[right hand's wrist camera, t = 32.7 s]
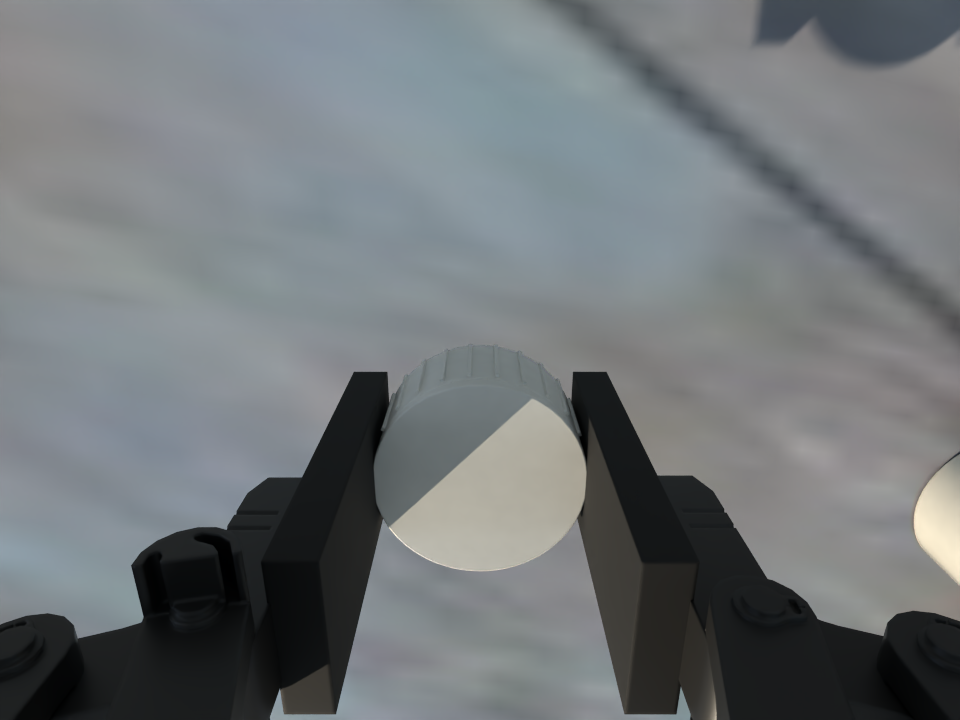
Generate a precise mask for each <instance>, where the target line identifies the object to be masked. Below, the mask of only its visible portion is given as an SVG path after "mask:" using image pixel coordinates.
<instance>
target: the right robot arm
mask: <svg viewBox="0 0 960 720" xmlns="http://www.w3.org/2000/svg"><path fill="white" fill-rule="evenodd" d="M571 403H572V406H573V409H574V412H575V415H576V419H577V422H578V425H579V428H580V431H581V434H582V436H580V441H581V444H582V447H583V451H584V454H585V458H586V462H587V473H586V487H585V500H584V504H583V507H582V510H581V512H580V514H579V516H578V517H577V519H578V523H579V527H580V531H581V535H582V539H583V544H584V548H585V552H586V556H587V560H588V564H589V569H590V573H591V577H592V581H593V585H594V589H595V593H596V598H597V602H598V606H599V610H600V614H601V618H602V622H603V627H604V631H605V635H606V639H607V643H608V647H609V652H610V656H611V660H612V664H613V668H614V672H615V676H616V681H617V685H618V689H619V693H620V697H621V701H622V706H623V710H624V714H676V713H677V707H678V700H679V694H680V687H681V688H682V690H683V693H684V696H685V699H686V702H687V705H688V708H689V710H690V713H691V717H690V720H960V621H957V620H954V619H951V618H948V617H945V616H942V615H939V614H936V613H928V612H919V611H910V612H905V613H900V614H896V615H895V616H894V617H893V618H892V619H891V620H890V621H889V622H888V623H887V626H886V630H885V633H884V636H880V635H876V634H871V633H867V632H863V631H858V630H854V629H850V628H845V627H841V626H837V625H834V624H830V623H827V622H824V621H821V620H818V619H817V617H816V615H815V614H814V612H813V611H812V609H811V608H810V606H809V604H808V603H807V602H806V601H805V600H804V599H802V598H801V597H800V596H799V595H798V594H796V593H795V592H794V591H793V590H791V589H789V588H787V587H785V586H783V585H781V584H779V583H777V582H775V581H773V580H769V579H767V577H766V576H765V574H764V573H763V571H762V569H761V568H760V566H759V565H758V563H757V561H756V560H755V558H754V556H753V555H752V553H751V552H750V550H749V548H748V547H747V545H746V544H745V542H744V540H743V539H742V537H741V536H740V534H739V532H738V531H737V529H736V528H734V527H733V523H732V521H731V519H730V518H729V516H728V515H727V513H724V508H723V506H722V505H721V503H720V502H719V500H718V498H717V497H716V495H715V494H714V492H713V491H712V490H711V489H709V488H708V487H707V486H705V485H704V484H703V483H701V482H700V481H699V480H697V479H696V478H695V477H693V476H657V474H656V472H655V470H654V468H653V466H652V464H651V462H650V460H649V458H648V456H647V454H646V451H645V449H644V447H643V445H642V443H641V441H640V439H639V437H638V435H637V433H636V431H635V429H634V427H633V425H632V423H631V421H630V419H629V417H628V415H627V413H626V411H625V409H624V407H623V405H622V403H621V401H620V399H619V397H618V395H617V393H616V390H615V388H614V386H613V384H612V382H611V380H610V378H609V376H608V374H607V372H573V383H572V400H571ZM388 406H389V393H388V375H387V372H354V373H353V375H352V377H351V379H350V381H349V383H348V385H347V387H346V389H345V391H344V393H343V395H342V397H341V399H340V402H339V404H338V406H337V408H336V410H335V412H334V414H333V416H332V418H331V420H330V422H329V424H328V426H327V428H326V430H325V432H324V434H323V436H322V438H321V440H320V442H319V444H318V446H317V448H316V450H315V452H314V454H313V456H312V458H311V460H310V463H309V465H308V467H307V469H306V471H305V473H304V475H303V477H302V478H267V479H266V480H265V481H263V482H262V483H261V484H259V485H258V486H257V487H255V488H254V489H253V490H251V491H250V492H249V493H248V494H247V495H246V497H245V498H244V500H243V502H242V503H241V505H240V507H239V508H238V510H237V514H236V515H234V516H233V518H232V520H231V521H230V523H229V524H228V526H227V530H224V529H221V528H217V527H197V528H193V529H189V530H184V531H180V532H176V533H174V534H171V535H169V536H167V537H165V538H162V539H160V540H158V541H156V542H155V543H153V544H152V545H151V546H149V547H148V548H146V549H145V550H144V551H142V552H141V553H140V555H139V556H138V557H137V559H136V560H135V561H134V563H133V564H132V565H131V566H132V571H133V575H134V579H135V583H136V587H137V591H138V595H139V599H140V603H141V607H142V612H143V616H144V618H143V621H142V622H141V623H139V624H135V625H132V626H129V627H126V628H122V629H118V630H113V631H109V632H105V633H100V634H96V635H92V636H87V637H83V638H79V639H78V638H77V635H76V631H75V628H74V625H73V624H72V623H71V622H70V621H69V620H67V619H66V618H65V617H64V616H59V615H53V614H48V613H47V614H39V615H30V616H25V617H22V618H18V619H15V620H12V621H9V622H6V623H3V624H1V625H0V720H270V715H271V712H272V709H273V706H274V703H275V701H276V698H277V695H278V692H279V689H280V691H281V698H282V704H283V711H284V714H336V711H337V707H338V703H339V699H340V695H341V691H342V686H343V682H344V678H345V674H346V670H347V666H348V662H349V657H350V653H351V649H352V645H353V641H354V637H355V632H356V628H357V624H358V620H359V616H360V612H361V608H362V603H363V599H364V595H365V591H366V587H367V583H368V578H369V574H370V570H371V566H372V562H373V558H374V554H375V549H376V545H377V541H378V537H379V533H380V529H381V524H382V520H383V517H382V515H381V513H380V511H379V508H378V506H377V504H376V495H375V480H374V458H375V454H376V451H377V448H378V444H379V441H380V438H381V435H382V432H383V431H381V428H382V425H383V422H384V418H385V415H386V412H387V409H388Z"/></svg>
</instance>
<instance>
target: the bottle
mask: <svg viewBox="0 0 960 720" xmlns="http://www.w3.org/2000/svg"><path fill="white" fill-rule="evenodd" d="M914 530H915V534H916V537H917V540H918V542H919V544H920V546H921V547H922V549H923V550H924V551H925V552H926V553H927V554H928V555H929V556H930V557H931V558H932V559H933V560H934V561H935V562H936V563H937V564H938V565H939V566H940V567H941V568H942V569H943V570H944V571H945V572H946V573H947V574H948V575H949V576H950V577H951V578H952V579H953V580H954V581H955V582H956V583H957V584H958V585H959V586H960V454H959V455H957V456H956V457H954V458H953V459H952V460H950V461H949V462H948V463H946V464H945V465H944V466H943V467H942V468H941V469H940V470H939V471H938V472H936V474H935V475H934V476H933V477H932V478H931V479H930V481H929V482H928V483H927V485H926V486H925V488H924V489H923V491H922V493H921V495H920V497H919V499H918V502H917V505H916V508H915V513H914Z"/></svg>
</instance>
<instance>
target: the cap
mask: <svg viewBox="0 0 960 720" xmlns="http://www.w3.org/2000/svg"><path fill="white" fill-rule="evenodd" d="M381 431H383V432H382V435H381V438H380V441H379V444H378V448H377V451H376V454H375V458H374V480H375V495H376V504H377V506H378V508H379V511H380V513H381V515H382V517H383V519H384V520H385V522H386V524H387V525H388V527H389V528H390V529H391V531H392V532H393V533H394V534H395V536H396V537H397V538H398V539H400V540H401V541H402V542H403V543H404V544H405V545H406V546H407V547H409V548H410V549H411V550H413V551H414V552H416V553H417V554H419V555H421V556H422V557H424V558H426V559H428V560H431V561H433V562H435V563H437V564H441V565H444V566H447V567H450V568H455V569H461V570H469V571H492V570H500V569H505V568H509V567H514V566H517V565H520V564H522V563H525V562H528V561H530V560H532V559H534V558H536V557H538V556H540V555H541V554H543V553H545V552H546V551H548V550H549V549H551V548H552V547H553V546H554V545H555V544H557V543H558V542H559V541H560V540H561V539H562V538H563V537H564V536H565V535H566V534H567V532H568V531H569V530H570V528H571V527H572V526H573V524H574V523H575V521H576V519H577V517H578V516H579V514H580V512H581V510H582V507H583V504H584V500H585V487H586V473H587V462H586V458H585V454H584V451H583V447H582V444H581V441H580V436H582V434H581V431H580V428H579V425H578V422H577V419H576V415H575V412H574V409H573V406H572V403H571V400H570V398H568V399H567V398H566V395H565V393H564V391H563V390H562V388H561V384H560V381H559V380H558V379H556V380H555V379H554V377H553V376H552V375H551V374H550V373H549V372H548V371H547V370H546V369H544V367H543V364H542V363H539V364H538V363H537V362H535V361H534V360H532V359H530V358H528V357H526V356H524V355H522V352H520V351H518V352H515V351H513V350H509V349H505V348H500V347H498V345H494V346H489V345H487V346H486V345H480V346H473V345H472V344H469V346H466V347H458V348H454V349H452V350H448V349H445V350H444V352H443V353H440V354H438V355H436V356H434V357H432V358H430V359H429V360H427V361H426V360H425V359H424V360H423V361H422V364H421V365H420V366H418V367H417V368H416V369H415V370H413V372H412V373H411V374H410V375H409V376H408V375H407V374H406V375H405V376H404V380H403V383H402V384H401V386H400V387H399V389H398V391H397V392H396V394H395V393H393V394H392V397H391V400H390V403H389V406H388V409H387V412H386V415H385V418H384V422H383V425H382V428H381Z"/></svg>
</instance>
